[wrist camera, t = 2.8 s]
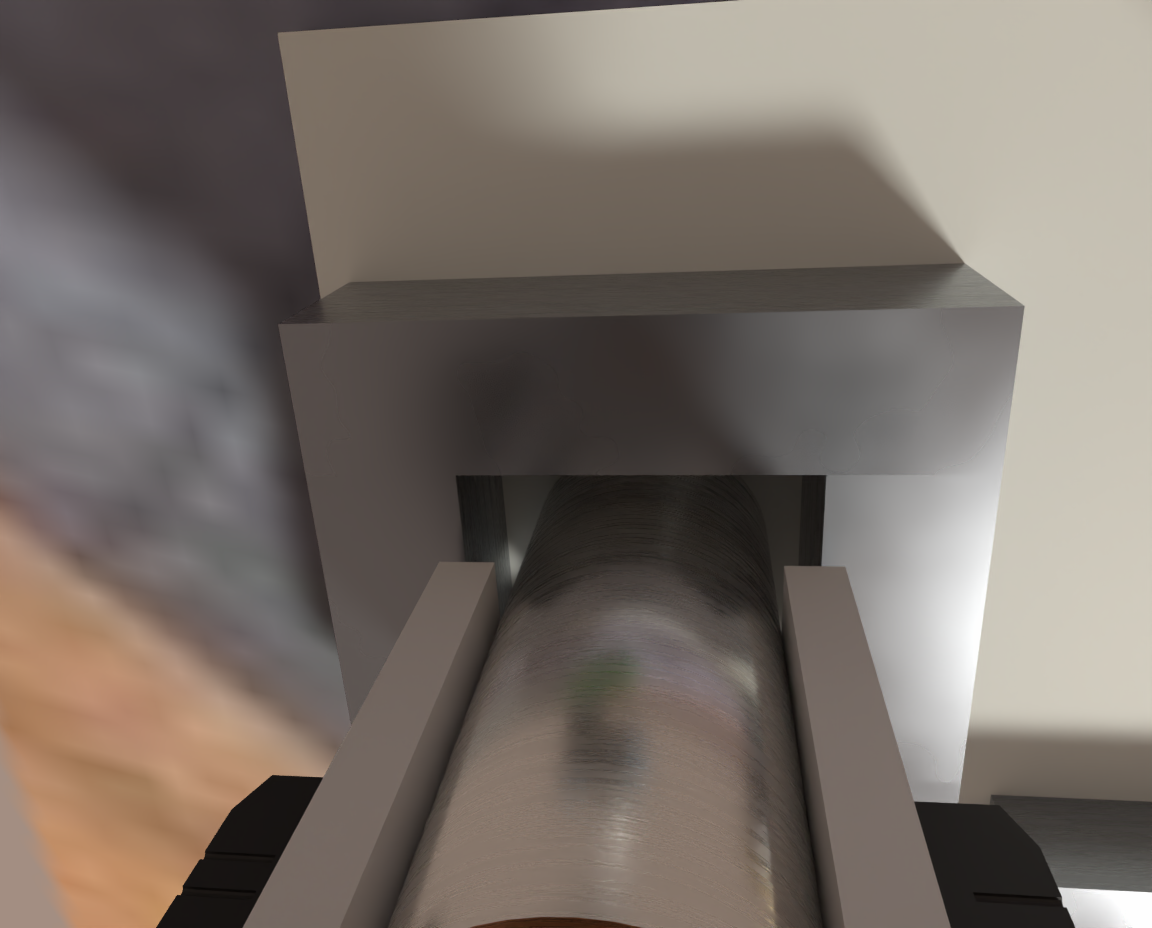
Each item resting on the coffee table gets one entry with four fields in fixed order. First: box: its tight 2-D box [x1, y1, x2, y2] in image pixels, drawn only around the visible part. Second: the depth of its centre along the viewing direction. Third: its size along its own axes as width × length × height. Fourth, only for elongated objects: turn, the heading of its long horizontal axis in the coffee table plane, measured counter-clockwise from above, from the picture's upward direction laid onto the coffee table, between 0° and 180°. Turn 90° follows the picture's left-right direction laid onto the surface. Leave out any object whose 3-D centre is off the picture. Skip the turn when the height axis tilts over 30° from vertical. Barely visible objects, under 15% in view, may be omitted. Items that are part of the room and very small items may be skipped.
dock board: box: [278, 0, 1152, 805], centre depth 16 cm, size 24×22×1 cm
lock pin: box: [388, 475, 823, 928], centre depth 10 cm, size 4×4×11 cm
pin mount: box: [278, 263, 1025, 803], centre depth 14 cm, size 9×9×3 cm
